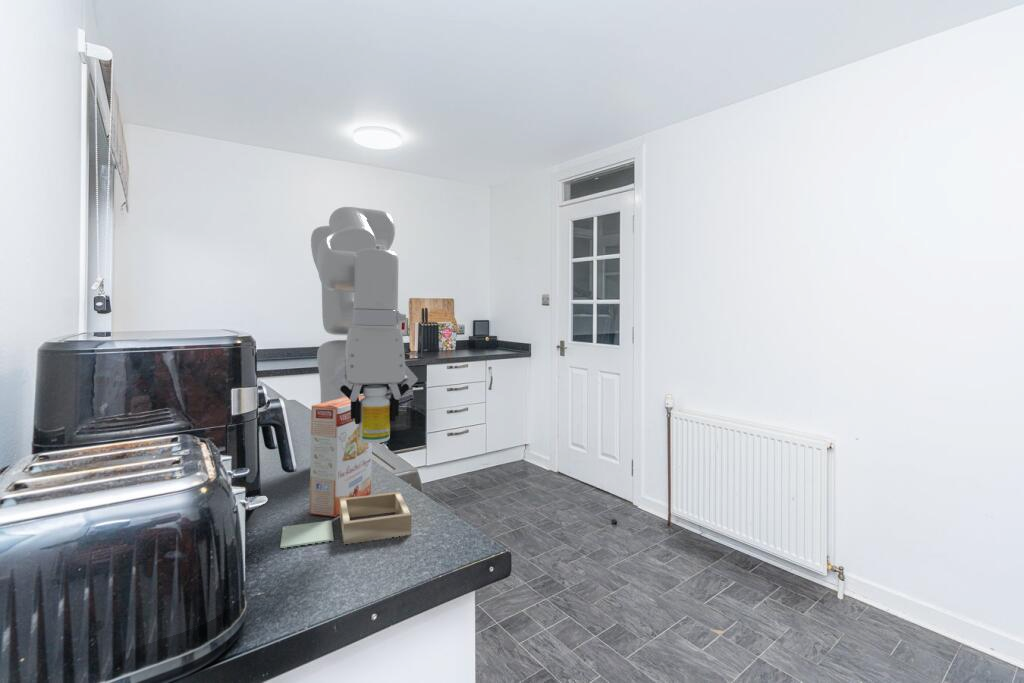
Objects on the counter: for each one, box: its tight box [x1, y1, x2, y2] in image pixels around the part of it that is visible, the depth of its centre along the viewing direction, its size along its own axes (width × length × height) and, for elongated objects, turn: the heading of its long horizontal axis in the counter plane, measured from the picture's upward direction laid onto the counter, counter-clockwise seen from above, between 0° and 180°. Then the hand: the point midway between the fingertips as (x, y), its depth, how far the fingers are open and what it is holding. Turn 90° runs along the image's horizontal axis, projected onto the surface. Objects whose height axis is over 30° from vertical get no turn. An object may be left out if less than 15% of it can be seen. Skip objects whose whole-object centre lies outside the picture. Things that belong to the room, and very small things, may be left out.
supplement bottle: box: [359, 384, 391, 444], centre depth 86 cm, size 5×5×10 cm
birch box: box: [339, 491, 412, 546], centre depth 86 cm, size 12×11×4 cm
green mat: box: [279, 520, 334, 549], centre depth 82 cm, size 8×8×1 cm
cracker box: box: [309, 395, 373, 518], centre depth 96 cm, size 14×6×21 cm, turn 168°
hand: (374, 420), depth 86 cm, fingers closed on supplement bottle, 5 cm apart
